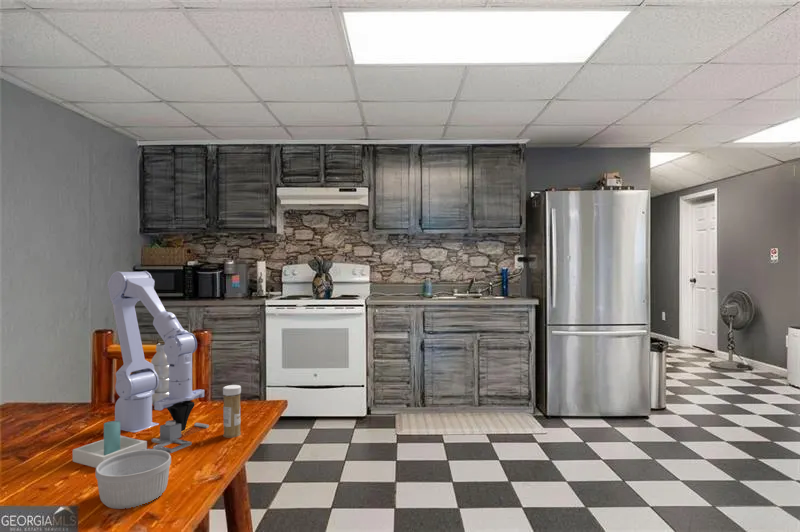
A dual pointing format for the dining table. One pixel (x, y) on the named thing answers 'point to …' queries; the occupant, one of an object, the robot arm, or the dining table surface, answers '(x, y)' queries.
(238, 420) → the sprinkles bottle
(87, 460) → the tray
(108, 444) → the pin
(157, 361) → the plastic bottle
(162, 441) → the rail
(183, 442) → the block
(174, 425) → the carriage
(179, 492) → the dining table surface
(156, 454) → the ramekin
